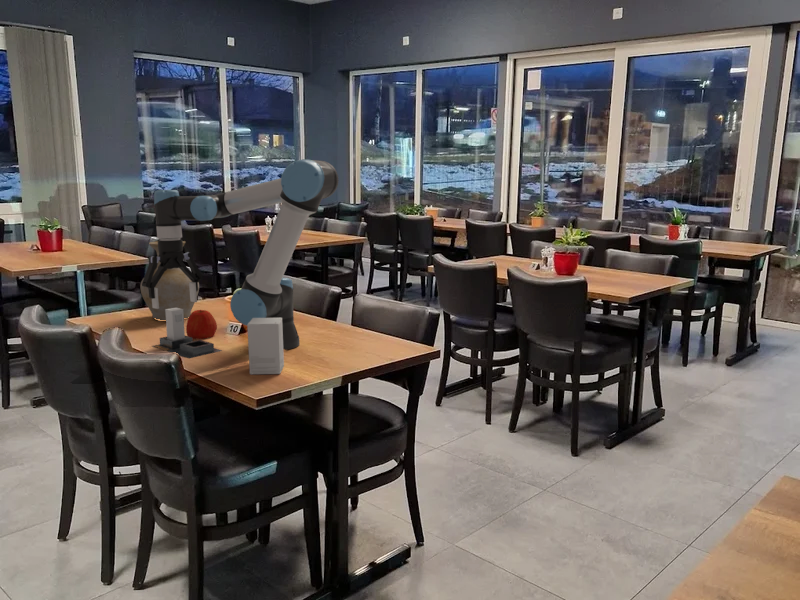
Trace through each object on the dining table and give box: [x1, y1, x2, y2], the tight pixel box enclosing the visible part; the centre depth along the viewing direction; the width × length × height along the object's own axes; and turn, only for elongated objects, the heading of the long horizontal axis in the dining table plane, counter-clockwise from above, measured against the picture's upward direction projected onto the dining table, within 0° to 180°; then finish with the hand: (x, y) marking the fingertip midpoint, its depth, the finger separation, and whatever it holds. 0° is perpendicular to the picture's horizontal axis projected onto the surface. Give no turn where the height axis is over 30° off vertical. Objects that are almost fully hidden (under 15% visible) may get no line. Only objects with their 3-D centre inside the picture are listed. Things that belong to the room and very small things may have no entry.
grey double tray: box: [151, 335, 223, 359], centre depth 213 cm, size 22×12×4 cm, turn 49°
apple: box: [185, 309, 218, 340], centre depth 229 cm, size 10×10×10 cm
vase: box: [139, 240, 200, 320], centre depth 261 cm, size 22×22×30 cm
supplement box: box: [246, 318, 285, 375], centre depth 193 cm, size 9×9×15 cm
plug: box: [165, 308, 186, 341], centre depth 216 cm, size 5×4×12 cm
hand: (175, 305), depth 215 cm, fingers open, 13 cm apart
